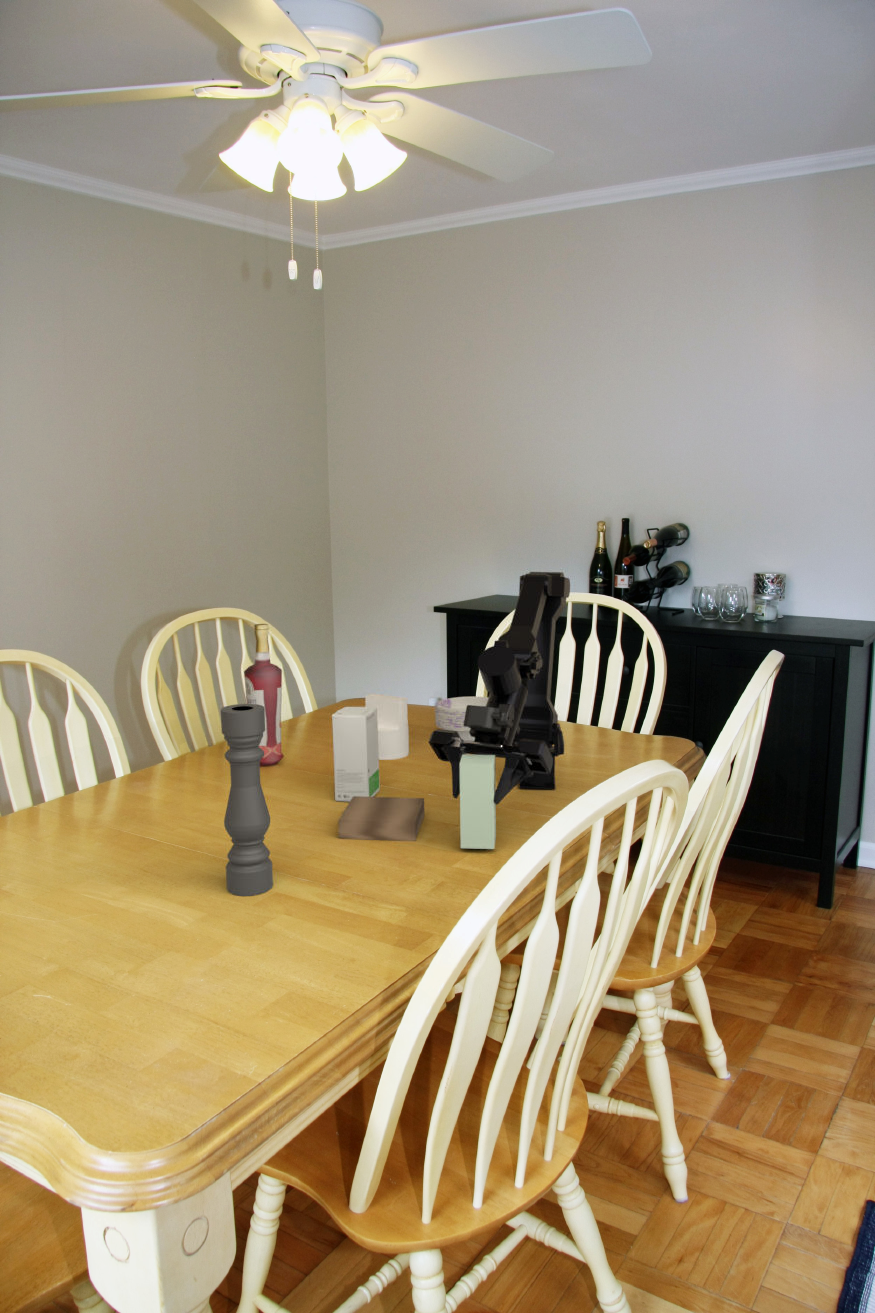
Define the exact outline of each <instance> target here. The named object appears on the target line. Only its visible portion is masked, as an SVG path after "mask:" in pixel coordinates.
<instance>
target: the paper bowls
mask: <svg viewBox="0 0 875 1313" xmlns="http://www.w3.org/2000/svg"><path fill="white" fill-rule="evenodd" d="M488 698H489V696H457V697H456V696H455V697H450V698H444V699H441V700H439V701H437V702H436V703H435V704H434V717H435V718H434V719H435V720H434V721H435V727H437V728H438V729H442V730H451V731H457V732H458V734H459V736H460V737H461V739H462V740H464V741H473V742H474V740H475V737H471V735H470V733H469V732H470V729H471V728H469V727H467V726H466V727H465V726H463V724H464V719H465V713H466V707H467V705H475V706H486V704H487V701H488Z"/></svg>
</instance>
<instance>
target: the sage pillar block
mask: <svg viewBox="0 0 875 1313" xmlns="http://www.w3.org/2000/svg"><path fill="white" fill-rule="evenodd" d="M496 789H497V788H496V757H495V755H475V754H468V755H462V757H461V761H460V794H459V816H460V818H459V819H460V822H459V823H460V824H459V825H460V828H459V829H460V830H459V831H460V849H474V850H477V849H480V850H483V849H486V850H495V846H496V838H497V829H496V828H497V827H496V826H497V824H496V823H497V822H496V821H497V820H496V818H497V816H496V815H497V814H496V805H497V804H495V803H494V801H493V800H494V796H495V791H496Z"/></svg>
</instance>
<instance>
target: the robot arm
mask: <svg viewBox="0 0 875 1313" xmlns="http://www.w3.org/2000/svg"><path fill="white" fill-rule="evenodd" d="M518 588H519V590H518V598H517V602H516V605H515V607H514V608H515V609H514V612H513V616H512V619H511V622H510V626H509V628H508V630H506V632H505V633H503V634H502V635H500V636H499V637H498V640H495V641H494V643H493V646H490V647H488V648H486V649H484V650H483V651H482V652H481V653H480V655H479V656H478V657H477V666H478V670H479V672H480V676H481V678H482V682H483V684H484V688H485V689H486V692H489V695H488V697H489V698H488V701H487V704H486V706H475V705H467V707H466V713H465V719H464V724H463V726H465V727H466V726H467V727H469V728H471V729H470V732H469V733H470V735H471V737H475V740H474V742H473V741H464V740H462V739H461V737H460V736H459V734H458V732H457V731H451V730H443V729H442V728H436V729H435V730H434V731H433V732H431V734H430V737H429V740H428V744H429V746H430V747H431V749H432V750H433V752H434V754H435V755H436V757H437V759H438V760H440V761H442V762H448V763H450V766H451V781H452V782H451V784H452V786H451V788H452V797H453V798H454V799H458V797H460V761H461V757H462V755H495V758H502V759H504V767H503V771H502V772H501V774H500V778H499V781H498V784H497V787H496V788H495V789H496V791H495V796H494V800H493V801H494V803H495V804H496V805H498V804H499V803H501V801H503V799H504V798H505V797H507V795H509V793H510V792H511V791H512V790H513V789H514V788H515V787H517V785H518V784H519V786H518V787H519V789H524V790H525V789H526V790H528V789H531V790H532V789H533V790H556V773H555V771H556V757H557V758H558V757H559V756H562V755H565V740H564V739H565V738H564V734H563V733H564V732H563V731H562V730H561V728H562V727H561V724H560V723H559V722H558V721H559V719H558V718H559V716H558V713H557V710H556V709H555V707H554V705H553V703H552V701H551V694H552V693H551V692H552V691H551V690H552V682H553V681H552V677H553V667H554V666H553V664H554V651H555V638H556V637H555V636H556V624H557V623H556V622H557V620H558V619H559V617H560V616H561V615H562V613H563V612H564V611H565V610H566V606H567V598H569V597H570V594H571V582H570V578H568V577H566V576H565V573H564V572H561V571H560V572H559V571H530V572H529V573H525V574H522V575H520V576H519V585H518ZM522 680H523V681H524V680H525V681H526V684H525V683H524V682H523V681H522Z"/></svg>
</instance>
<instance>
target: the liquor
mask: <svg viewBox="0 0 875 1313" xmlns="http://www.w3.org/2000/svg"><path fill="white" fill-rule="evenodd" d="M253 627H254V628H253V629H254V637H255V656H254V658H255V659H254V664H252V665H250V666H248V667H247V668H246V669H245V670H244V671H243V674H244V676H243V677H244V685H245V686H244V687H245V700H246V704H258V705H262V706H263V707H264V710H265V731H264V732H263V738H262V739H261V743H260V744H259V748H261V749H262V750H263V751H264V756H263V758H262V759H261V761H260V767H271V766H275V765H277V764H278V763H279V762H280V761H282V759H283V758H284V754H283V752H282V697H283V695H282V694H283V693H282V690H283V688H282V685H283V680H282V675H283V671H282V668H280V666H278V665H276V664H274V663H271V656H270V650H269V641H268V638H269V624H268V623H256V624H253Z"/></svg>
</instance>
